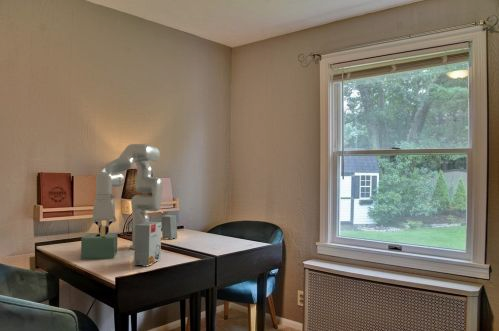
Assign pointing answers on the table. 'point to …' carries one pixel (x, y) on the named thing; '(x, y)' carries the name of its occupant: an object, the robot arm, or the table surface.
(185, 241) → the table surface
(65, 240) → the table surface
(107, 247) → the coin box
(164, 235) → the skincare box
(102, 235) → the token
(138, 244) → the hard drive box
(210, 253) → the table surface
